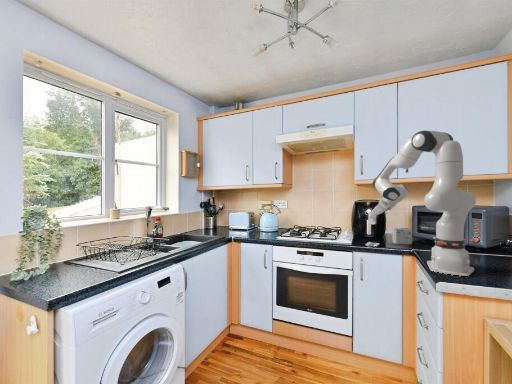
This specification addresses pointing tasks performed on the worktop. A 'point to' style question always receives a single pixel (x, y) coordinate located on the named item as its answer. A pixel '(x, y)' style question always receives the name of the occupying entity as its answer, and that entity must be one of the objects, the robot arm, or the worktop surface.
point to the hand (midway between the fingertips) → (371, 217)
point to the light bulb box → (402, 235)
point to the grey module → (371, 219)
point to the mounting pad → (372, 244)
